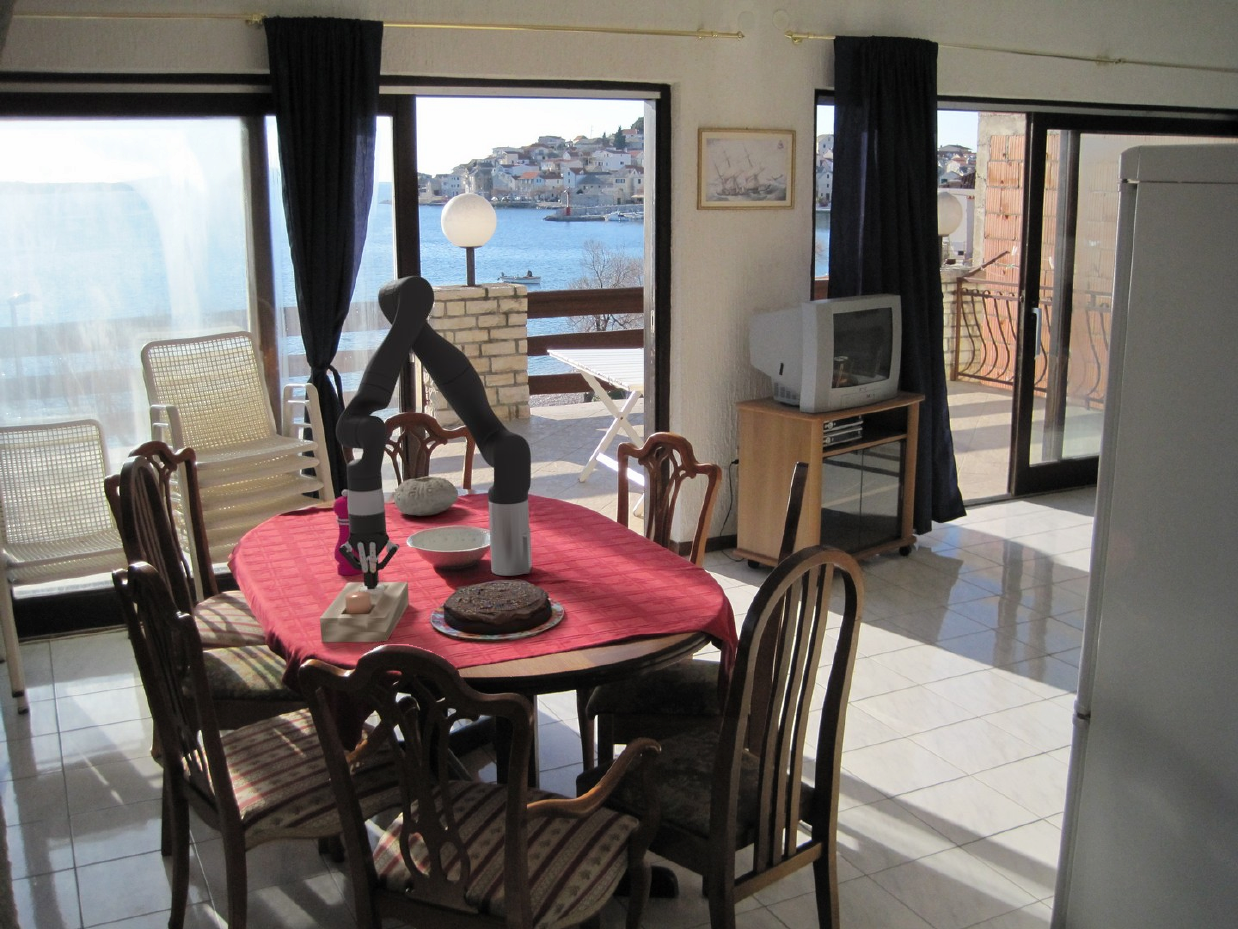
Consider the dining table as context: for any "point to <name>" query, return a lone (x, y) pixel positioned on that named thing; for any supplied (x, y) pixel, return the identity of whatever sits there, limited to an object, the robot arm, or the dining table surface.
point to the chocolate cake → (497, 612)
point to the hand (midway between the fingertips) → (371, 587)
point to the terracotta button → (358, 602)
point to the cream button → (378, 589)
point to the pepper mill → (343, 535)
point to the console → (365, 615)
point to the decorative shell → (425, 496)
